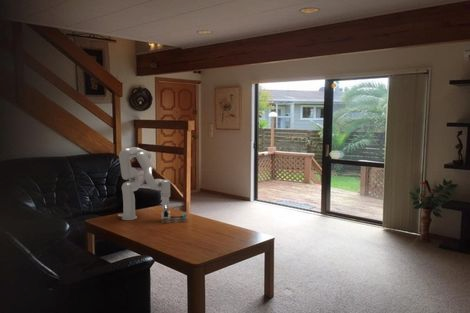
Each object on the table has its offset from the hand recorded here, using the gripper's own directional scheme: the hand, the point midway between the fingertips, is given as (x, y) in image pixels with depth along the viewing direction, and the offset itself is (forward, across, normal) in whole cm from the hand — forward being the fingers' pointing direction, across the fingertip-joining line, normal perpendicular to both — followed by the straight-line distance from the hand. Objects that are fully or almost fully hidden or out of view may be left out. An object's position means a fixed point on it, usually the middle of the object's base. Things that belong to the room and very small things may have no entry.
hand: (166, 215), depth 319 cm
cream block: (+3, 0, 0) cm, 3 cm away
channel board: (+5, 0, +6) cm, 8 cm away
